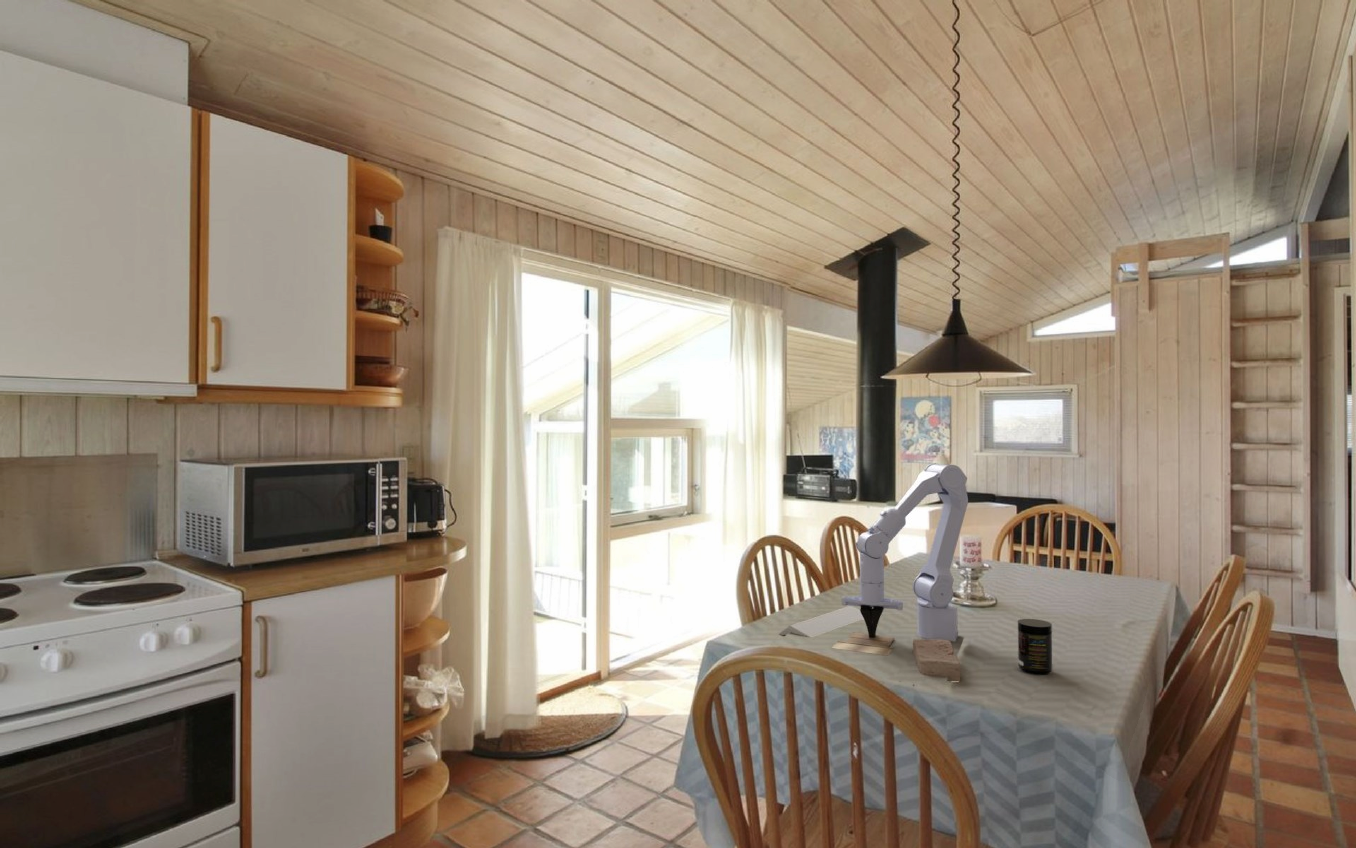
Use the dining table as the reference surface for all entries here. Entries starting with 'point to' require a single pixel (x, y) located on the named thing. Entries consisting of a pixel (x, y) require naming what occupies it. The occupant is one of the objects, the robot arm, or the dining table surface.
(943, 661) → the brick
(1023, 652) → the supplement container
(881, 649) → the floor strip
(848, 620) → the crown molding
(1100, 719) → the dining table surface
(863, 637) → the plank
